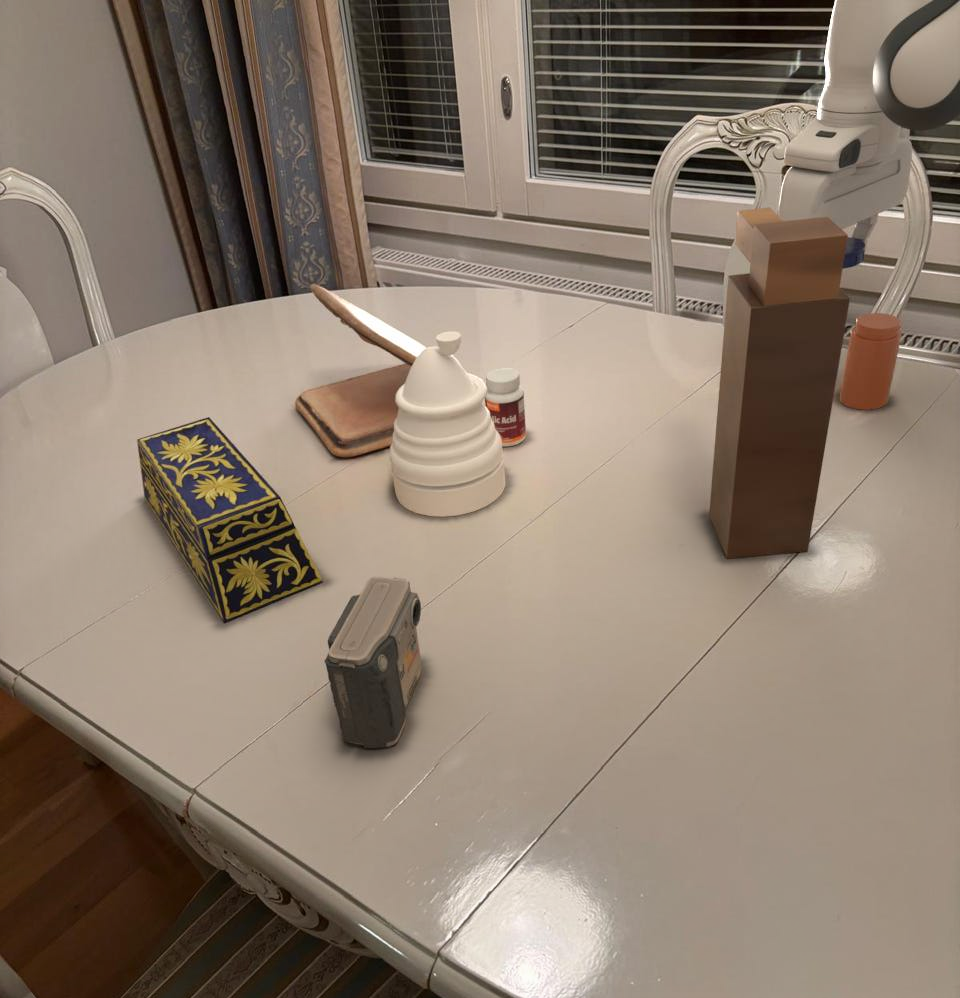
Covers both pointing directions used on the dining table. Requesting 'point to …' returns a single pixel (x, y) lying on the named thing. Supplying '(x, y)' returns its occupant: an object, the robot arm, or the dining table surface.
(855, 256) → the lid
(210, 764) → the dining table surface
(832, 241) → the brown wooden block
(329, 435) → the case
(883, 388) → the jar
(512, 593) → the dining table surface
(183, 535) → the decorative box
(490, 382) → the pill bottle
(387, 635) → the camera
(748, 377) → the pedestal
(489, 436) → the honey pot
